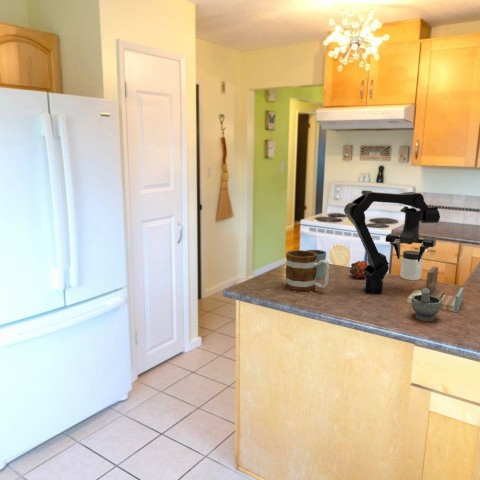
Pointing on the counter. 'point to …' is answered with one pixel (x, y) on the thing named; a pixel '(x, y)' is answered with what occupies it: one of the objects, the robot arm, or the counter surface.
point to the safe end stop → (459, 299)
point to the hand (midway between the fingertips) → (408, 260)
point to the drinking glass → (320, 268)
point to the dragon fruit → (358, 269)
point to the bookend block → (433, 283)
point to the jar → (411, 265)
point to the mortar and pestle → (425, 305)
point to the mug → (303, 271)
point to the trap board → (447, 300)
